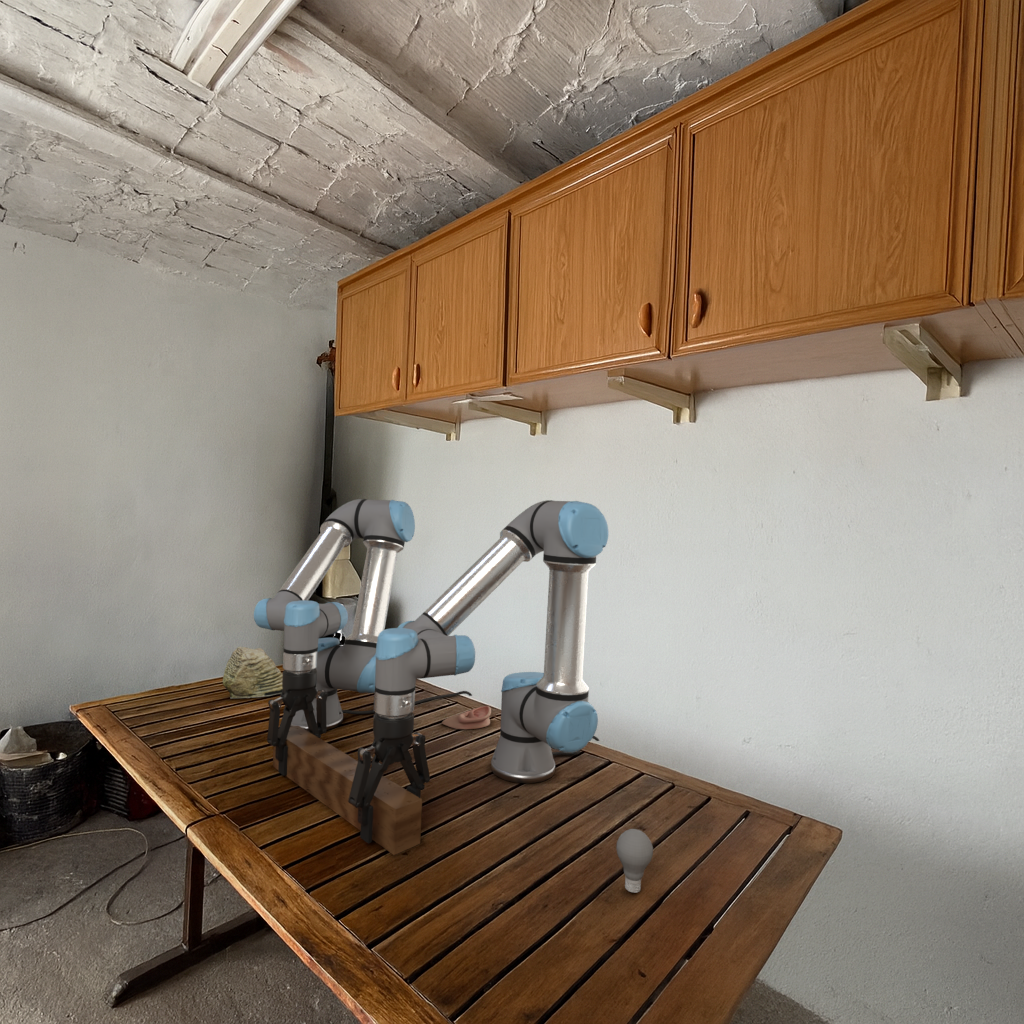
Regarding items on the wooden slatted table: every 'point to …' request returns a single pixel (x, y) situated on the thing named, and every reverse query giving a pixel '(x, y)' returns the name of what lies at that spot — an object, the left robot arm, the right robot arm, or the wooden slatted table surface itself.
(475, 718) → the anatomical model
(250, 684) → the fossil
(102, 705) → the wooden slatted table surface
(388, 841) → the bar
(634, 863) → the light bulb
